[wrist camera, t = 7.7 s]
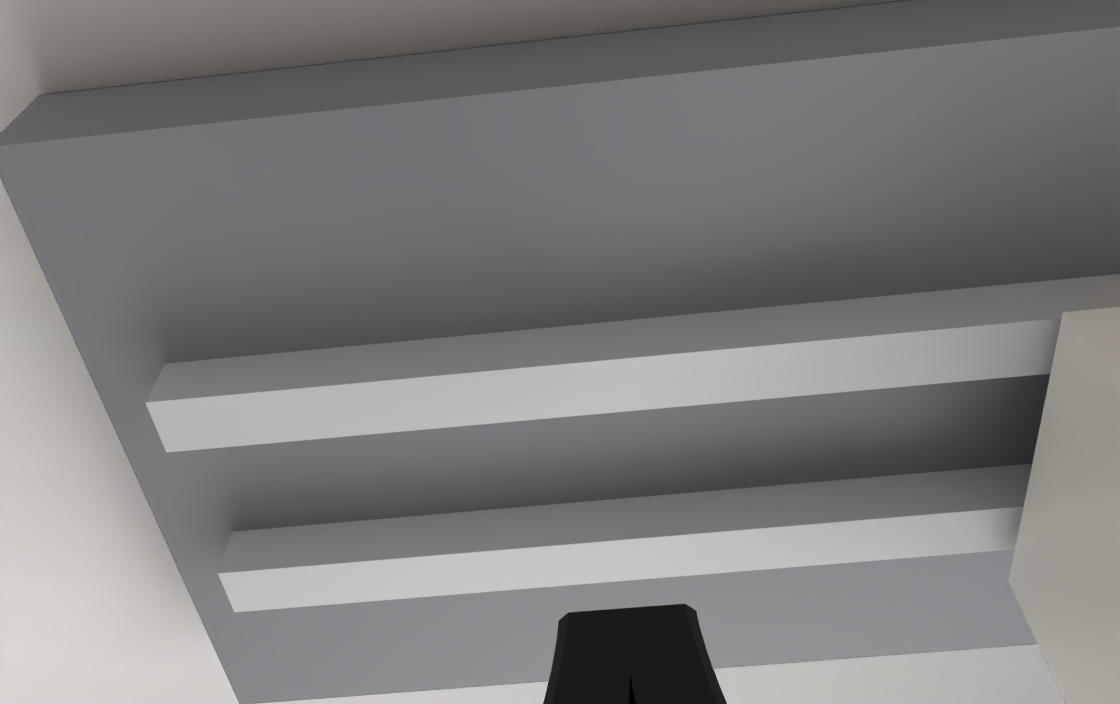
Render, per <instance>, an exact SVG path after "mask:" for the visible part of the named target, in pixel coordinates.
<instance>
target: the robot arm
mask: <svg viewBox="0 0 1120 704" xmlns="http://www.w3.org/2000/svg"><path fill="white" fill-rule="evenodd" d="M543 704H727V703H726V700H725V698H724V696H723V693H722V691H721V688H720V686H719V683H718V680H717V678H716V675H715V672H714V670H713V667H712V664H711V661H710V658H709V655H708V653H707V649H706V646H705V643H704V639H703V636H702V633H701V629H700V625H699V621H698V617H697V612H696V610H694V609H693V608H691V607H690V606H688V605H687V604H673V605H660V606H646V607H633V608H619V609H606V610H593V611H579V612H568V613H567V614H566V615H565V616H563V617H562V618H561V619H560V620H559V622H558V631H557V640H556V646H555V652H554V658H553V663H552V668H551V673H550V678H549V682H548V687H547V691H546V695H545V699H544V703H543Z"/></svg>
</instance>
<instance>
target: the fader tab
mask: <svg viewBox="0 0 1120 704" xmlns="http://www.w3.org/2000/svg"><path fill="white" fill-rule="evenodd" d="M1009 584H1010V586H1011V588H1012V591H1013V593H1014V595H1015V597H1016V599H1017V601H1018V603H1019V606H1020V608H1021V610H1022V612H1023V614H1024V616H1025V618H1026V621H1027V623H1028V625H1029V627H1030V629H1031V631H1032V633H1033V635H1034V638H1035V640H1036V642H1037V644H1038V646H1039V648H1040V650H1041V653H1042V655H1043V657H1044V659H1045V661H1046V663H1047V665H1048V668H1049V670H1050V672H1051V674H1052V676H1053V678H1054V680H1055V683H1056V685H1057V687H1058V689H1059V691H1060V693H1061V695H1062V698H1063V700H1064V702H1065V704H1120V307H1114V308H1103V309H1093V310H1082V311H1071V312H1063V314H1062V319H1061V324H1060V329H1059V334H1058V339H1057V344H1056V349H1055V354H1054V359H1053V364H1052V369H1051V374H1050V378H1049V383H1048V388H1047V393H1046V398H1045V403H1044V408H1043V413H1042V418H1041V423H1040V428H1039V433H1038V438H1037V443H1036V448H1035V453H1034V458H1033V463H1032V468H1031V473H1030V478H1029V483H1028V488H1027V493H1026V497H1025V502H1024V507H1023V512H1022V517H1021V522H1020V527H1019V532H1018V537H1017V542H1016V547H1015V552H1014V557H1013V562H1012V567H1011V572H1010V577H1009Z"/></svg>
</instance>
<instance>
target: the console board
mask: <svg viewBox="0 0 1120 704" xmlns="http://www.w3.org/2000/svg"><path fill="white" fill-rule="evenodd" d="M0 178H1V180H2V182H3V184H4V187H5V189H6V191H7V193H8V195H9V198H10V200H11V202H12V204H13V206H14V209H15V211H16V213H17V215H18V217H19V220H20V222H21V224H22V226H23V228H24V231H25V233H26V235H27V237H28V239H29V242H30V244H31V246H32V248H33V250H34V253H35V255H36V257H37V259H38V261H39V264H40V266H41V268H42V270H43V272H44V275H45V277H46V279H47V281H48V283H49V286H50V288H51V290H52V292H53V294H54V297H55V299H56V301H57V303H58V305H59V308H60V310H61V312H62V314H63V316H64V319H65V321H66V323H67V325H68V327H69V330H70V332H71V334H72V336H73V338H74V341H75V343H76V345H77V347H78V349H79V352H80V354H81V356H82V358H83V360H84V363H85V365H86V367H87V369H88V371H89V374H90V376H91V378H92V380H93V382H94V385H95V387H96V389H97V391H98V393H99V396H100V398H101V400H102V402H103V404H104V407H105V409H106V411H107V413H108V415H109V418H110V420H111V422H112V424H113V426H114V429H115V431H116V433H117V435H118V437H119V440H120V442H121V444H122V446H123V448H124V451H125V453H126V455H127V457H128V459H129V462H130V464H131V466H132V468H133V470H134V473H135V475H136V477H137V479H138V481H139V484H140V486H141V488H142V490H143V492H144V495H145V497H146V499H147V501H148V503H149V506H150V508H151V510H152V512H153V514H154V517H155V519H156V521H157V523H158V526H159V528H160V530H161V532H162V534H163V537H164V539H165V541H166V543H167V545H168V548H169V550H170V552H171V554H172V556H173V559H174V561H175V563H176V565H177V567H178V570H179V572H180V574H181V576H182V578H183V581H184V583H185V585H186V587H187V589H188V592H189V594H190V596H191V598H192V600H193V603H194V605H195V607H196V609H197V611H198V614H199V616H200V618H201V620H202V622H203V625H204V627H205V629H206V631H207V633H208V636H209V638H210V640H211V642H212V644H213V647H214V649H215V651H216V653H217V655H218V658H219V660H220V662H221V664H222V666H223V669H224V671H225V673H226V675H227V677H228V680H229V682H230V684H231V686H232V688H233V691H234V693H235V695H236V697H237V699H238V702H239V704H255V703H269V702H282V701H295V700H308V699H321V698H334V697H348V696H361V695H374V694H387V693H400V692H413V691H426V690H440V689H453V688H466V687H479V686H492V685H505V684H518V683H532V682H545V681H549V678H550V673H551V668H552V663H553V658H554V652H555V646H556V640H557V631H558V622H559V620H560V619H561V618H562V617H563V616H565V615H566V614H567V613H568V612H579V611H593V610H606V609H619V608H633V607H646V606H660V605H673V604H687V605H688V606H690V607H691V608H693V609H694V610H696V612H697V617H698V621H699V625H700V629H701V633H702V636H703V639H704V643H705V646H706V649H707V653H708V655H709V658H710V661H711V664H712V667H713V669H716V668H729V667H742V666H755V665H768V664H781V663H795V662H808V661H821V660H834V659H847V658H860V657H874V656H887V655H900V654H913V653H926V652H939V651H952V650H966V649H979V648H992V647H1005V646H1018V645H1031V644H1037V642H1036V640H1035V638H1034V635H1033V633H1032V631H1031V629H1030V627H1029V625H1028V623H1027V621H1026V618H1025V616H1024V614H1023V612H1022V610H1021V608H1020V606H1019V603H1018V601H1017V599H1016V597H1015V595H1014V593H1013V591H1012V588H1011V586H1010V584H1009V577H1010V572H1011V567H1012V562H1013V557H1014V552H1015V547H1016V542H1017V537H1018V532H1019V527H1020V522H1021V517H1022V512H1023V507H1024V502H1025V497H1026V493H1027V488H1028V483H1029V478H1030V473H1031V468H1032V463H1033V458H1034V453H1035V448H1036V443H1037V438H1038V433H1039V428H1040V423H1041V418H1042V413H1043V408H1044V403H1045V398H1046V393H1047V388H1048V383H1049V378H1050V374H1051V369H1052V364H1053V359H1054V354H1055V349H1056V344H1057V339H1058V334H1059V329H1060V324H1061V319H1062V314H1063V312H1071V311H1082V310H1093V309H1103V308H1114V307H1120V0H911V1H902V2H892V3H883V4H874V5H865V6H856V7H846V8H837V9H828V10H819V11H810V12H800V13H791V14H782V15H773V16H764V17H754V18H745V19H736V20H727V21H718V22H708V23H699V24H690V25H681V26H671V27H662V28H653V29H644V30H635V31H625V32H616V33H607V34H598V35H589V36H579V37H570V38H561V39H552V40H543V41H533V42H524V43H515V44H506V45H497V46H487V47H478V48H469V49H460V50H450V51H441V52H432V53H423V54H414V55H404V56H395V57H386V58H377V59H368V60H358V61H349V62H340V63H331V64H322V65H312V66H303V67H294V68H285V69H276V70H266V71H257V72H248V73H239V74H229V75H220V76H211V77H202V78H193V79H183V80H174V81H165V82H156V83H147V84H137V85H128V86H119V87H110V88H101V89H91V90H82V91H73V92H64V93H54V94H45V95H39V96H38V97H37V98H36V99H35V100H34V101H33V102H32V103H31V104H30V105H29V106H28V107H27V108H26V109H25V110H24V111H23V112H22V113H21V114H20V115H19V116H18V117H17V118H16V119H15V120H14V121H13V122H12V123H11V124H10V125H9V126H8V127H7V128H6V129H4V130H3V131H2V132H1V133H0Z"/></svg>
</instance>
